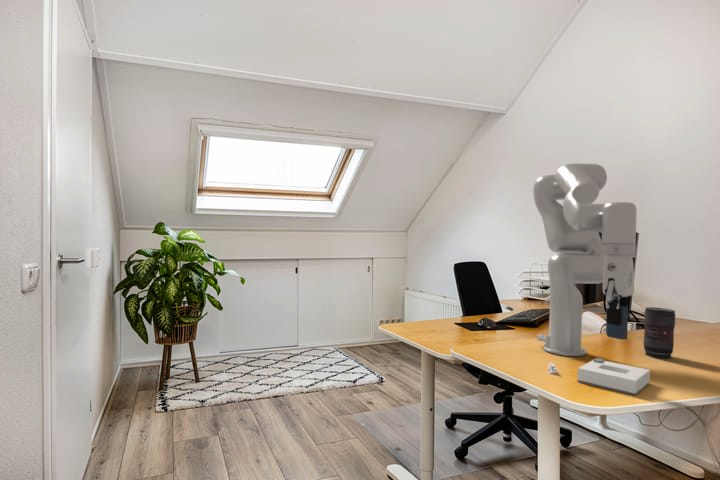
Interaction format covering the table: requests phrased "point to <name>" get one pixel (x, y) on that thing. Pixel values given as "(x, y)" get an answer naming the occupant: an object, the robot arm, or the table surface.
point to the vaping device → (621, 330)
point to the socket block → (614, 376)
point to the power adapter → (552, 368)
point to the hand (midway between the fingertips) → (616, 322)
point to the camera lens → (659, 332)
